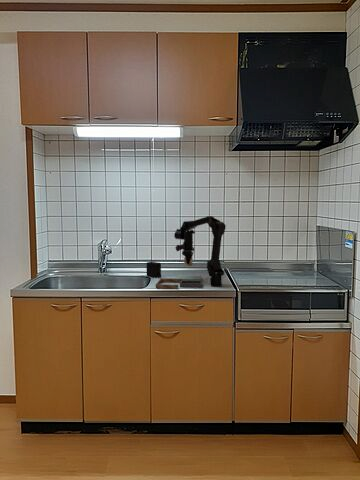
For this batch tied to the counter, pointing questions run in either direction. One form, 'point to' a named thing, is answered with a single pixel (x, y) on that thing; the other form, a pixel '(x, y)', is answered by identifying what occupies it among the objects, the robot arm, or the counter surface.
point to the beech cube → (189, 263)
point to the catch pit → (191, 284)
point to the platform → (189, 277)
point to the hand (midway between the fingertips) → (188, 263)
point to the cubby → (167, 282)
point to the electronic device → (153, 269)
